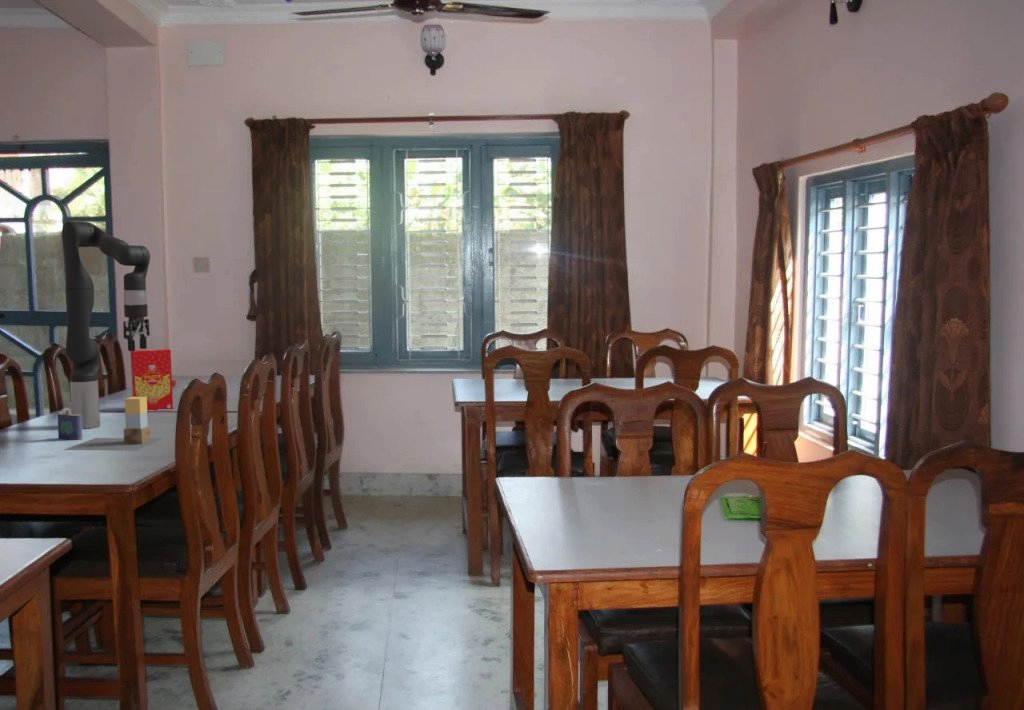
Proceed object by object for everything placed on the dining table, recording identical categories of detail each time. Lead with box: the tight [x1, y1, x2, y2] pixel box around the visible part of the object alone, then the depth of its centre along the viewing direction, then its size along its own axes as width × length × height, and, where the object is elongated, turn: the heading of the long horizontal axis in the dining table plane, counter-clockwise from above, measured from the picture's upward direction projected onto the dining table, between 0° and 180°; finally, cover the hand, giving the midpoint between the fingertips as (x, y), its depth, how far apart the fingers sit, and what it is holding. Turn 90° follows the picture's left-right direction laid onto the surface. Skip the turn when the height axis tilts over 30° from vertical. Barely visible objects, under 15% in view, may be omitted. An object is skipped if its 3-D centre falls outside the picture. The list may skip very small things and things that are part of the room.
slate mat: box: [63, 437, 163, 452], centre depth 289 cm, size 24×20×1 cm
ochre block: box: [124, 396, 148, 415], centre depth 291 cm, size 5×5×5 cm
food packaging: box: [130, 348, 174, 410], centre depth 361 cm, size 15×5×25 cm, turn 120°
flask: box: [57, 408, 83, 441], centre depth 298 cm, size 9×3×11 cm, turn 74°
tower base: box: [123, 425, 151, 444], centre depth 292 cm, size 6×6×5 cm
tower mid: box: [124, 412, 149, 429], centre depth 291 cm, size 5×5×5 cm
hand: (137, 349), depth 304 cm, fingers open, 8 cm apart
